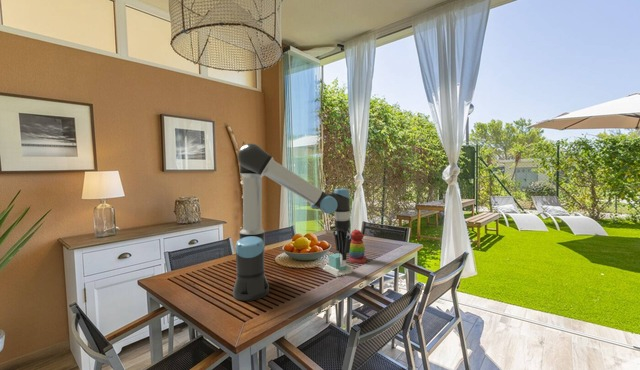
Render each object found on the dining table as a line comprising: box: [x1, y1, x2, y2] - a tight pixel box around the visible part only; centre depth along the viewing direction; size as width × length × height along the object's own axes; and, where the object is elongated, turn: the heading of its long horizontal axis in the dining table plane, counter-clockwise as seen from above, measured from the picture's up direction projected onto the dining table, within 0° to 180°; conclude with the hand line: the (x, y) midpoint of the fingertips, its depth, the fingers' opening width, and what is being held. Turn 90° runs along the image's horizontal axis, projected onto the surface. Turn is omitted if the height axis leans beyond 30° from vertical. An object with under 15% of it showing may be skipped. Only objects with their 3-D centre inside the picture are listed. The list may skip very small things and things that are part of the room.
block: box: [328, 252, 345, 271], centre depth 148 cm, size 6×6×7 cm
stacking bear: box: [348, 228, 367, 265], centre depth 163 cm, size 11×10×18 cm
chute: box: [317, 263, 354, 277], centre depth 151 cm, size 10×20×3 cm, turn 33°
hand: (343, 265), depth 144 cm, fingers closed
